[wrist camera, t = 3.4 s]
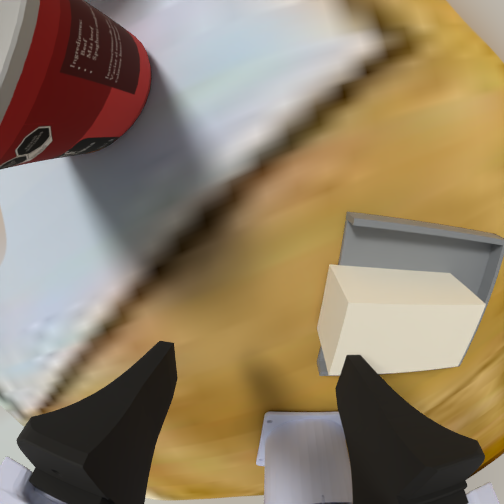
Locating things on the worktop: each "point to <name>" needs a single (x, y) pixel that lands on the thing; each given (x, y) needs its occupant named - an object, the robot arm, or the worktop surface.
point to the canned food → (65, 80)
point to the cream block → (396, 319)
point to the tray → (421, 253)
